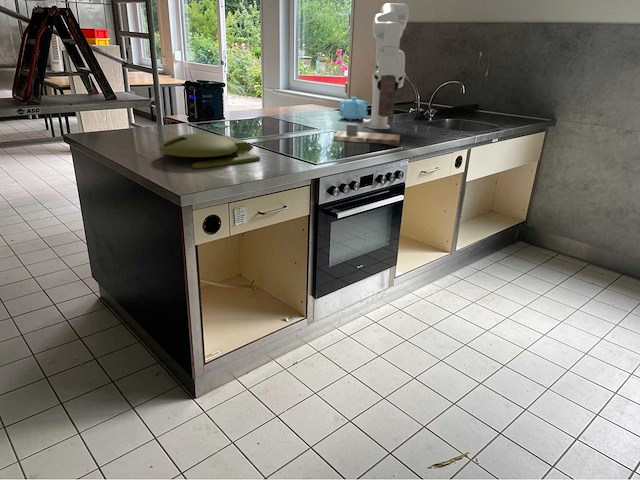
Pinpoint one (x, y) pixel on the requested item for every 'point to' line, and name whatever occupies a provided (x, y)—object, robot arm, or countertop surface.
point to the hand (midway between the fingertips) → (387, 90)
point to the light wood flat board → (368, 137)
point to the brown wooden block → (387, 96)
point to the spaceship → (209, 149)
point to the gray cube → (352, 129)
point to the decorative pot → (353, 109)
